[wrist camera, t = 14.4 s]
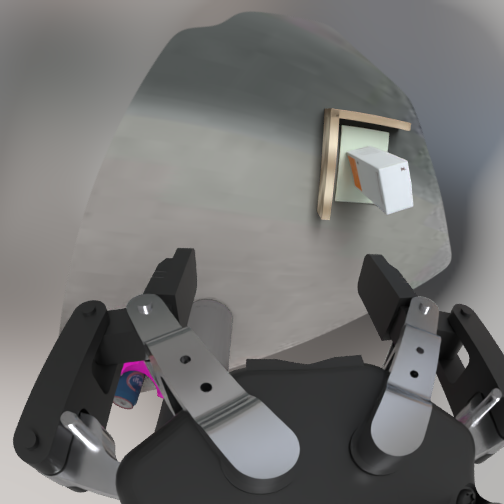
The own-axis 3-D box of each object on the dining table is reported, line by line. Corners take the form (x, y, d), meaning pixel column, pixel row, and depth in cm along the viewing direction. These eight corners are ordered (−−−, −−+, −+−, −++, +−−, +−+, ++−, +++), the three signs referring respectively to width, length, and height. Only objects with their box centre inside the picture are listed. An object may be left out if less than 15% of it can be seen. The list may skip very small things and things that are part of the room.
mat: (378, 203, 41) (379, 204, 41) (334, 200, 41) (335, 201, 41) (388, 132, 36) (389, 132, 35) (341, 124, 36) (342, 125, 35)
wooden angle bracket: (386, 215, 42) (395, 223, 39) (316, 211, 42) (321, 219, 39) (399, 121, 35) (410, 123, 32) (324, 108, 35) (331, 108, 32)
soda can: (151, 373, 63) (140, 410, 53) (133, 376, 65) (122, 411, 54) (134, 356, 60) (121, 394, 50) (117, 360, 62) (103, 396, 51)
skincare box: (344, 151, 37) (377, 167, 27) (369, 144, 36) (408, 159, 26) (353, 188, 40) (386, 216, 29) (377, 181, 39) (415, 206, 29)
